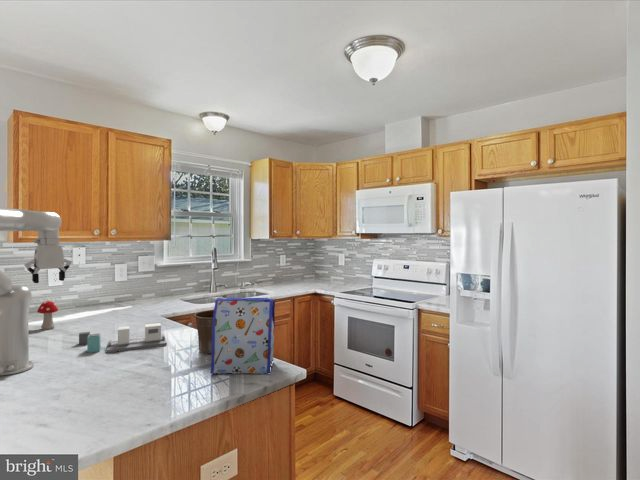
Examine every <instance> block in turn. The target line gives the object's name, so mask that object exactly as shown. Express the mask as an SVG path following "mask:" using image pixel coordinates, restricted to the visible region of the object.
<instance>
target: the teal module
mask: <svg viewBox="0 0 640 480" xmlns="http://www.w3.org/2000/svg"><path fill="white" fill-rule="evenodd" d="M101 335H102V334H101V333H99V332H98V333H92V334H90V335H88V337H87V344H86V345H87V346H86V347H87V349H86V351H87V354H88V353H97V352H100V351H101V346H102V345H101V342H102V341H101V337H102V336H101Z"/></svg>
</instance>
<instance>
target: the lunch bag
mask: <svg viewBox="0 0 640 480" xmlns="http://www.w3.org/2000/svg"><path fill="white" fill-rule="evenodd" d="M275 308H276V301H274V298H268V297H226V298H225V297H224V298H216V299H215V303H214V308H213V310H214V312H213V324H212V353H210V354H211V355H210V357H211V358H210V374H216V373H217V374H221V373H270V374H271V372H270V367H271V364H272V361H274V349H275V329H276V328H275V327H276V326H275V325H276V321H275V320H276V319H275V317H276V316H275V315H276V314H275ZM221 375H222V374H221Z"/></svg>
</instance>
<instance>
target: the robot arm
mask: <svg viewBox="0 0 640 480" xmlns="http://www.w3.org/2000/svg"><path fill="white" fill-rule="evenodd" d="M61 226H62V217H61V216H60V215H59V214H58V213H57V212H52V211H42V210H41V211H40V210H29V209H19V208H10V207H9V208H8V207H0V232H29V231H31V232H32V231H33V232H34V231H35V232H37V238H36V239H34V240H33V242H34V244H37V245H35V250H34V255H33V259H31V260H30V261H27V262H26V263H24V267H25V268H26V270H27V271H28V272H30V274H31V275H32V276H31V280H32V282H33V284H39V282H40V281H39V279H40V277H39V276H40V275H39V272H40V270H47V269H48V270H50V269H58V270H59V271H58V280H59V281H61V282H63V281H64V282H65V279H66V271H67V270H68V269H69V268H70V266H71V264H72V261H71V260H69V259H66V258H65V255H64V250H63V246H62V244H61V245H60V228H61ZM32 265H33V268H32V267H31V266H32ZM32 298H33V295H32V292H31V290H30V288H28V287H26V286H24V285H19V284H18V285H17V284H16V285H15V284H12V280H11V279H10V277H9V276H8V275H7V274H6V273H5V272H4V271H3V270H1V269H0V312H2V313H1V314H0V376H9V375H13V374H14V375H15V374H19V373H23V372H25V371H29V370H31V369H32V368H33V367H34V365H35V364H34V362H33V361H31V360H30V358H29V357H30V355H29V351H30V349H29V348H30V347H29V343H30V341H29V315H30V314H29V313H30V308H31V307H30V306H31V303H32ZM29 360H30V361H29Z"/></svg>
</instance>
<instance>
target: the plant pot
mask: <svg viewBox="0 0 640 480" xmlns="http://www.w3.org/2000/svg"><path fill="white" fill-rule="evenodd" d="M213 312H214V309H211V310H204V311H199V312H195V314H194V317H195V323H196V326H197V327H196V328H197V339H198V350H199V353H201V354H205V355H209V354H211V353H212V324H213Z"/></svg>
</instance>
